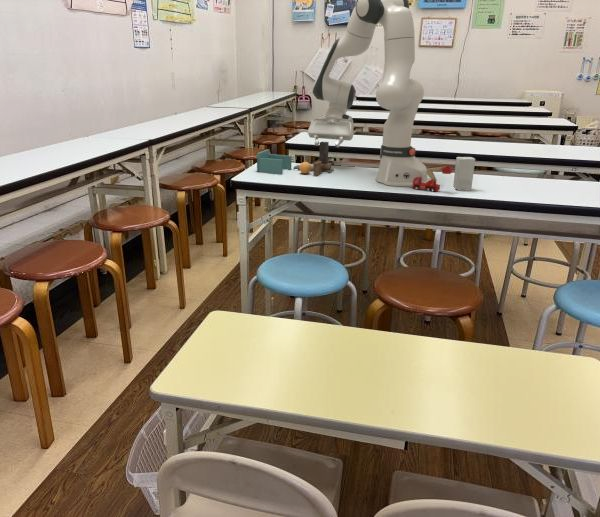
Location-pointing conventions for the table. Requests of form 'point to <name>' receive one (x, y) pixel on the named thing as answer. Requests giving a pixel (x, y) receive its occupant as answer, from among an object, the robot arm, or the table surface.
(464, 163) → the skincare box
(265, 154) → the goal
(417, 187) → the toy fire truck
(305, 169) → the ball
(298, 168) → the kicker rail
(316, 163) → the slide kicker
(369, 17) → the robot arm
